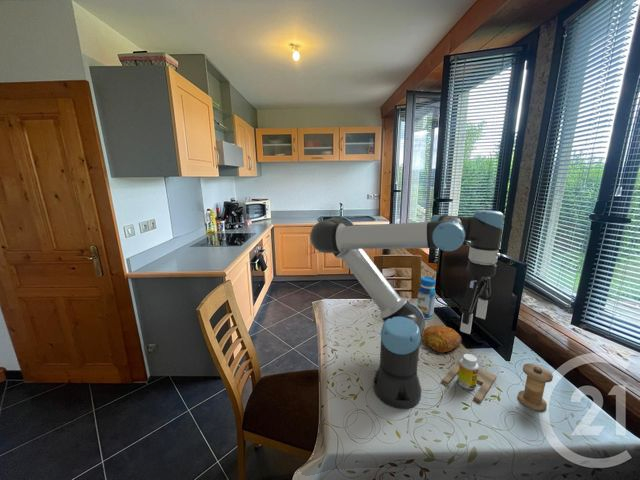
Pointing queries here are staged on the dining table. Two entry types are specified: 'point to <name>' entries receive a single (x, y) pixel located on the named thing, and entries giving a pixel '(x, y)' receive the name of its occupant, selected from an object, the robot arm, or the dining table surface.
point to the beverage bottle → (426, 297)
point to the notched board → (482, 378)
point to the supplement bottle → (468, 371)
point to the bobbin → (535, 387)
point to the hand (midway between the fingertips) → (473, 324)
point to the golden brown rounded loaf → (441, 338)
